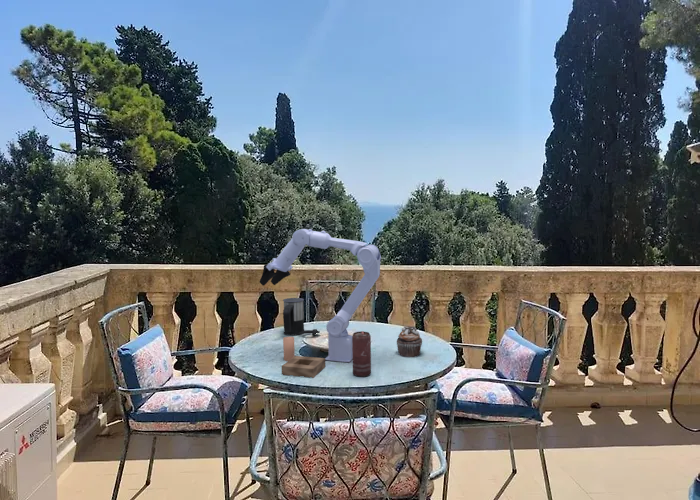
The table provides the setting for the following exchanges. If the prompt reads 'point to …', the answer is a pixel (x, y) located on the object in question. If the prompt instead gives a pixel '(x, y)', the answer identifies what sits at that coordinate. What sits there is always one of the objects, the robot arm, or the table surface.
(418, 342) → the cupcake
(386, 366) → the table surface
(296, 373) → the socket block
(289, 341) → the peg
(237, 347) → the table surface
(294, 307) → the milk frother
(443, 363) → the table surface
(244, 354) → the table surface
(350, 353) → the robot arm
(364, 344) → the can
